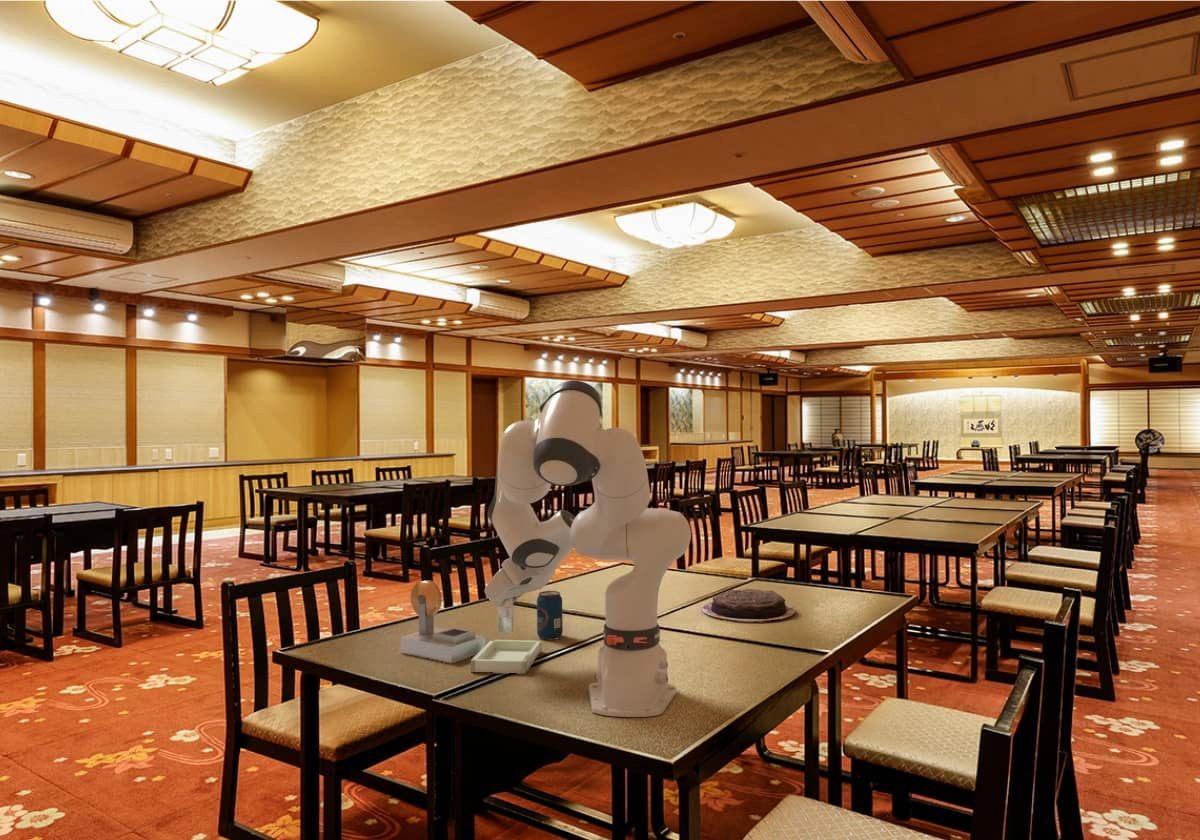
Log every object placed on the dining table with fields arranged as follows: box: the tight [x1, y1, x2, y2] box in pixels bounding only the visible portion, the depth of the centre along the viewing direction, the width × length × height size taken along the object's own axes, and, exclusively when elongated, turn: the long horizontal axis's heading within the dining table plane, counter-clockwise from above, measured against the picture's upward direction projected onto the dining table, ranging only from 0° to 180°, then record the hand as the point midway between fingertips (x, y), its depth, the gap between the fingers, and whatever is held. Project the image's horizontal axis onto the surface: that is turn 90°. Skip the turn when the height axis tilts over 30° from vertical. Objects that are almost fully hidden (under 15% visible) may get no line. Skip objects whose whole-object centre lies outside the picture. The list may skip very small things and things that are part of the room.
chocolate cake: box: [701, 588, 796, 623], centre depth 236 cm, size 28×28×7 cm
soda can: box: [536, 590, 564, 640], centre depth 210 cm, size 7×7×12 cm
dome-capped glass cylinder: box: [497, 597, 514, 634], centre depth 188 cm, size 5×5×12 cm
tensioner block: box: [400, 579, 486, 664], centre depth 198 cm, size 20×12×18 cm, turn 56°
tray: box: [470, 639, 542, 675], centre depth 188 cm, size 18×13×3 cm
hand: (503, 602), depth 188 cm, fingers closed on dome-capped glass cylinder, 4 cm apart
